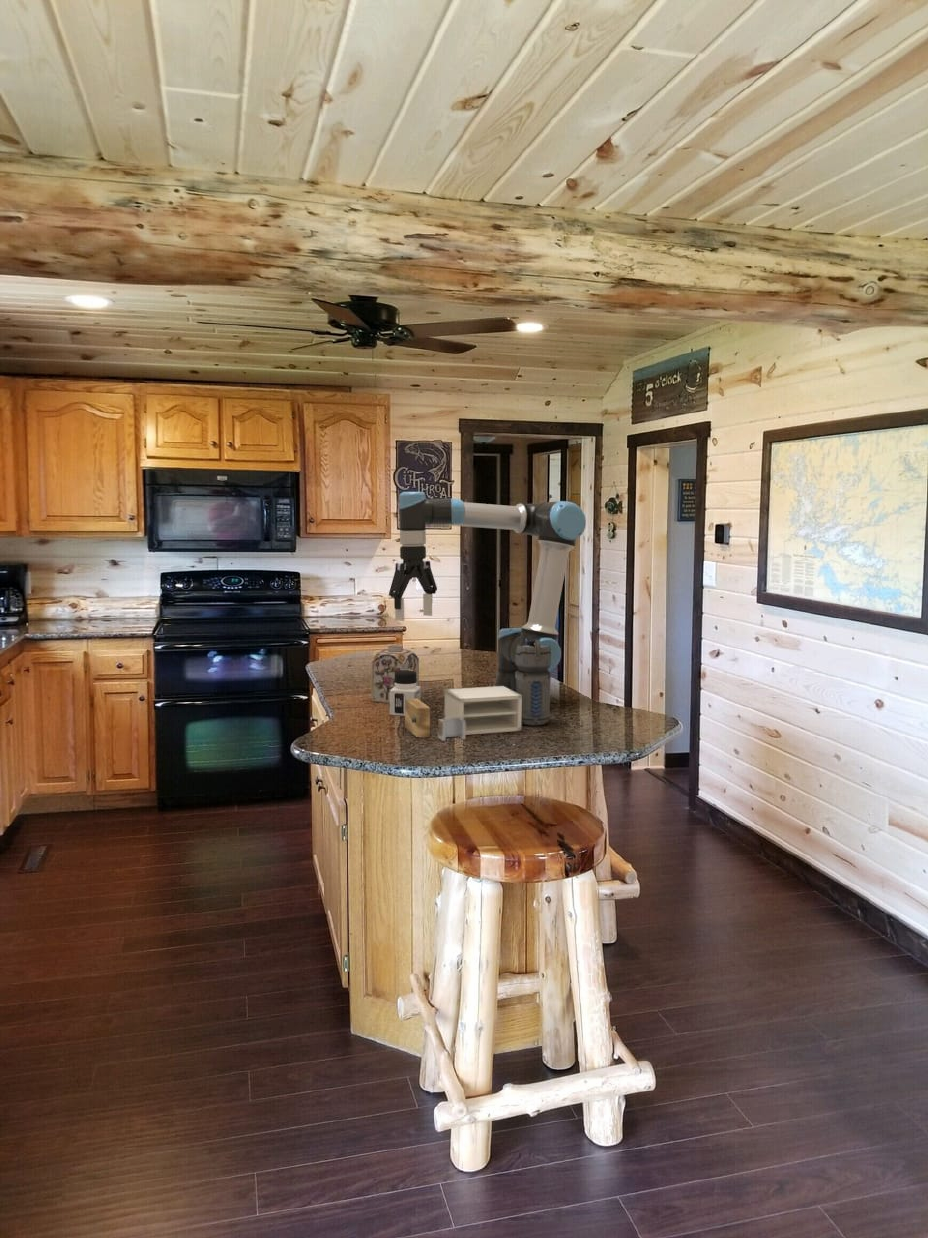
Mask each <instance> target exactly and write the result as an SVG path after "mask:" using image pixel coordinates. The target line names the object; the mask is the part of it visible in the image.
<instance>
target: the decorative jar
mask: <svg viewBox="0 0 928 1238" xmlns="http://www.w3.org/2000/svg"><path fill="white" fill-rule="evenodd" d="M403 647H404V646H403V644H395V643H391V644H388V645H387V648H385V649H381V650H377V652H376V653H375V655H374V657H373V658H372V660H371V702H374V703H380V704H381V703H382V704H390V690H391V689H392V688H394V687H395V672H396V671H398V670H413V671H415V672H416V686H420V685H419V684H420V667H419V666H420V662H419V661H420V660H419V659H420V658H419V657H418V655H417V654H416V652H414V651H413V650H410V649H403Z"/></svg>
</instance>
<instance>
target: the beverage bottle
mask: <svg viewBox="0 0 928 1238" xmlns="http://www.w3.org/2000/svg"><path fill="white" fill-rule="evenodd" d="M534 644H535V645H534ZM515 661H516V665H517V667H518V669H519V670H517V671H516V672H515V692H516V693H518V694H520V695H522V715H521V725H524V726H532V727H533V726H542V725H545V724H547V723H548V722H549V721H550V715H551V713H550V712H551V677H552V675H551V674H552V673H551V672H549V671H548V669H549V667H550V666H551V646H550V645H549V646H548V647H545V646H541V645H540V639H535V640H534V638H532V637H531V636H530V637H526V639H525V646H519V645H518V646H517V649H516V656H515Z"/></svg>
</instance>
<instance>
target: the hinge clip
mask: <svg viewBox="0 0 928 1238" xmlns="http://www.w3.org/2000/svg"><path fill="white" fill-rule="evenodd" d="M465 731H466V721H465V720H464V719H462V718H446V719H444V718H438V719H437V738H438V739H439V740H441V742H446V738H454V737H458V738H460V739H461V740H466V735H465Z"/></svg>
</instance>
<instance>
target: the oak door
mask: <svg viewBox="0 0 928 1238" xmlns="http://www.w3.org/2000/svg"><path fill="white" fill-rule="evenodd" d="M404 717H405V718H404V719H405V720H404V724H405V725H404V728H405V729H407V731H409V732H410V733H411V734H412V735H413V736H415V737H416V738H417V737H419V738H429V737H431V736H430V734H431V730H430V728H431V723H430V722H431V719H430V718H431V707H429V706H428V705H427V704H425V703H424V702H423V701H422V700H421V701H420V700H418V699H406V700H405V716H404Z"/></svg>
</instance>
